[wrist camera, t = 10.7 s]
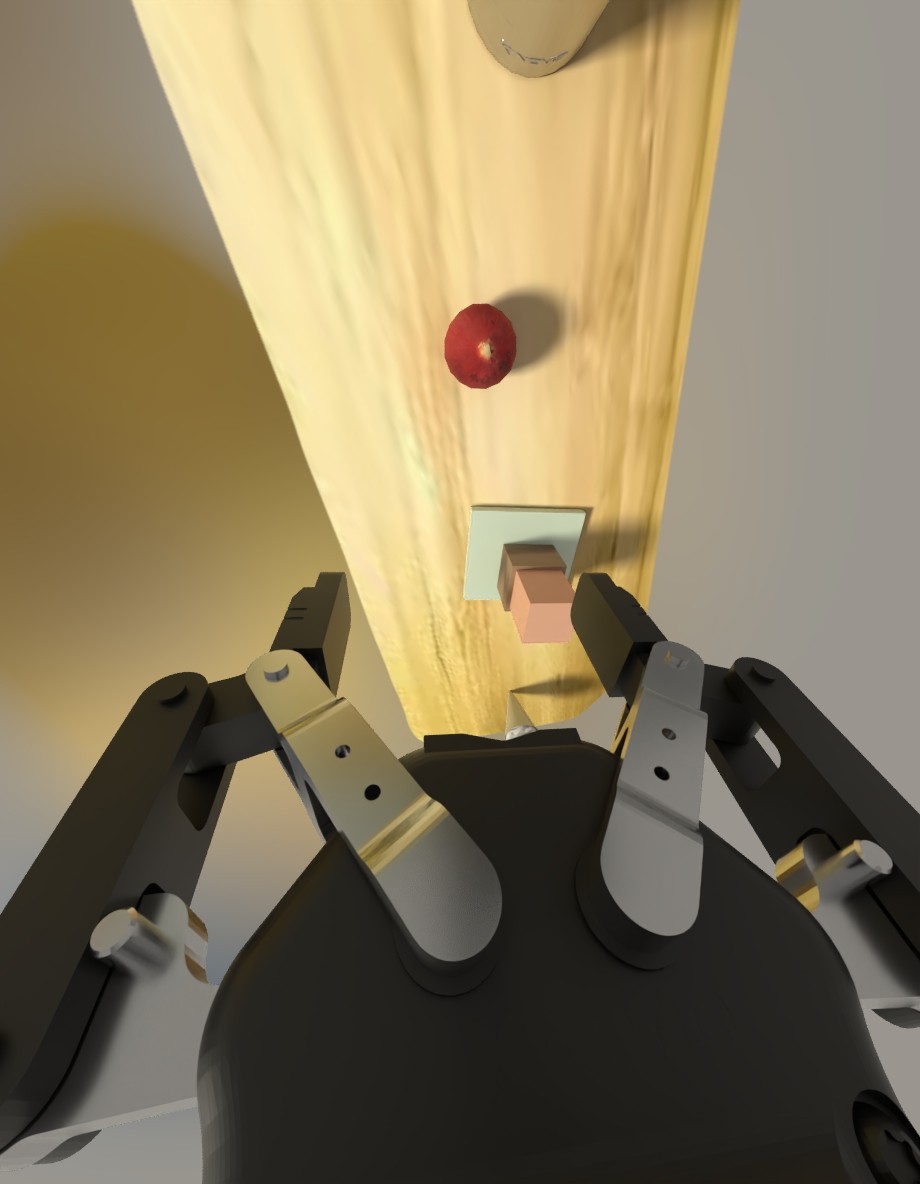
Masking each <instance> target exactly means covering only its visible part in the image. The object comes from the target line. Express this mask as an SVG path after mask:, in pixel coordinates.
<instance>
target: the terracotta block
mask: <svg viewBox="0 0 920 1184" xmlns="http://www.w3.org/2000/svg"><path fill="white" fill-rule="evenodd" d="M574 596H575V592H574V590H573V589H572V587H571V585H570V584H569V582H568V580H567V579H566V577H565V575H564V574H563V572H562V570H516V575H515V580H514V586H513V592H512V598H511V603H510V610H511V613H512V616H513V619H514V622H515V625H516V627H517V630H518V633H519V636H520V639H521V642H522V643H569V642H570V639H571V636H572V632H573V629H574V628H573V626H572V623H571V616H570V613H571V606H572V603H573V600H574Z"/></svg>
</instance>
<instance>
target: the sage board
mask: <svg viewBox="0 0 920 1184" xmlns="http://www.w3.org/2000/svg"><path fill="white" fill-rule="evenodd" d="M585 515H586V513H585V512H584V511H583V510H582V509H547V508H512V507H476V506H471V512H470V523H469V534H468V545H467V556H466V567H465V578H464V589H463V597H464V600H501V598H500V595H499V592H498V589H497V583H498V577H499V570H500V563H501V557H502V550H503V544H536V545H554V547H555V548H556V550H557V552H558V553H559V555H560V556H561V558H562V559H563V561H564V563H565V564H566V566H567V568H566V572H565V577H566V579H567V580H568V578H569V574H570V571H571V567H572V563H573V560H574V556H575V552H576V548H577V545H578V541H579V537H580V534H581V530H582V526H583V523H584V519H585Z"/></svg>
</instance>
